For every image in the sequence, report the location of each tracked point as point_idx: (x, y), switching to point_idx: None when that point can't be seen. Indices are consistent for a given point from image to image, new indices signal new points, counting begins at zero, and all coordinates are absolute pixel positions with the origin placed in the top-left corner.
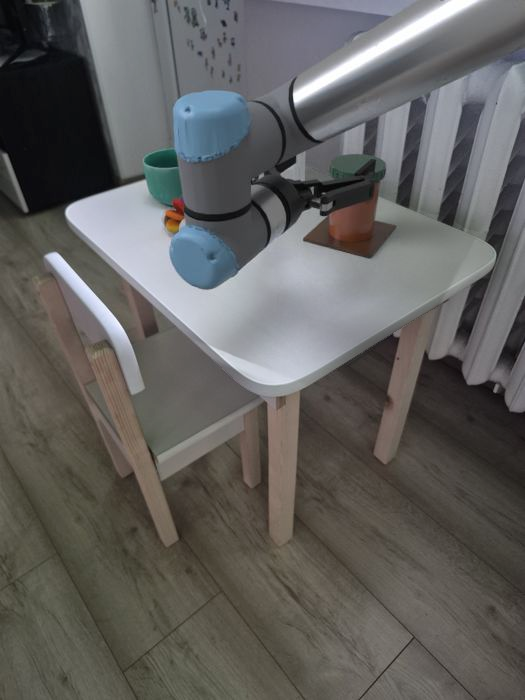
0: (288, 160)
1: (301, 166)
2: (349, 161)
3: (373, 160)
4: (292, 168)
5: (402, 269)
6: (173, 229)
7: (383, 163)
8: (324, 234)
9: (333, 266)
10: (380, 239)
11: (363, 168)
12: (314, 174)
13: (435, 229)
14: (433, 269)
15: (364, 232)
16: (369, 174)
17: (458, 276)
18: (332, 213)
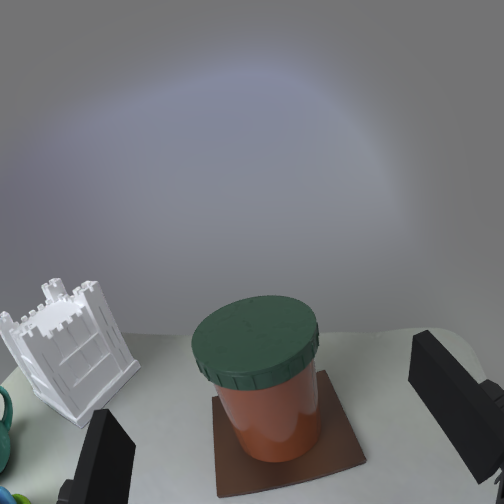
0: (114, 478)
1: (120, 345)
2: (229, 332)
3: (430, 338)
4: (109, 354)
5: (427, 442)
6: None
7: (295, 302)
8: (245, 463)
9: None
10: (338, 413)
11: (479, 397)
12: (138, 338)
13: (367, 341)
14: None
15: (318, 426)
16: (497, 398)
17: None
18: (246, 434)
